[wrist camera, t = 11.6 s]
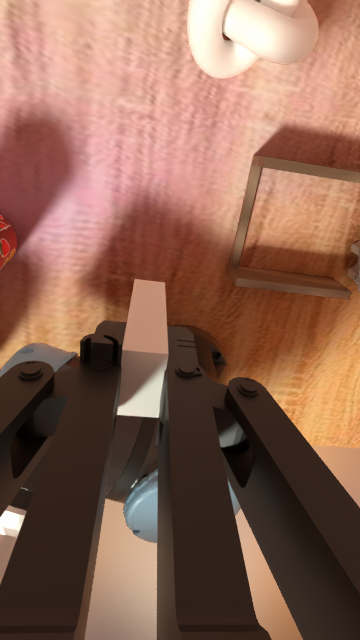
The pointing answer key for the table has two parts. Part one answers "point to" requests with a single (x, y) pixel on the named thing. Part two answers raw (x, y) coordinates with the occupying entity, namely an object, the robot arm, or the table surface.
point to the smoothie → (6, 241)
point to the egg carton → (356, 272)
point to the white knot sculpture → (249, 33)
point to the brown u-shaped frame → (277, 278)
